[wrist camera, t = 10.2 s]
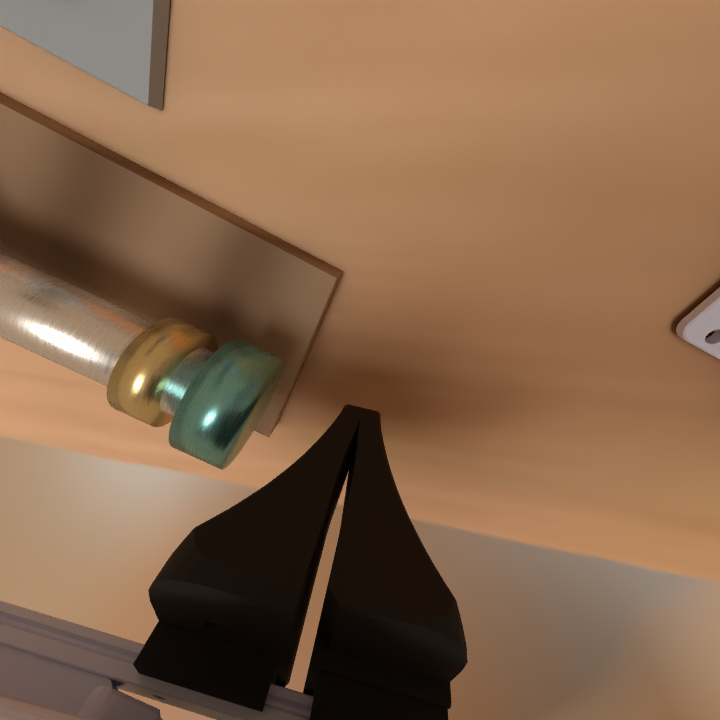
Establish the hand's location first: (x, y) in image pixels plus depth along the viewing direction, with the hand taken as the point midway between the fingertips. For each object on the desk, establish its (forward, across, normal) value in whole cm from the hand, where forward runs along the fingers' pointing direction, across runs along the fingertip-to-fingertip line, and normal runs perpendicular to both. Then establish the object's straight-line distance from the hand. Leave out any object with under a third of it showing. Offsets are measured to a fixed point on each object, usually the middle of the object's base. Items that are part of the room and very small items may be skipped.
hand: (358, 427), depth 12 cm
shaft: (0, +11, -3) cm, 11 cm away
